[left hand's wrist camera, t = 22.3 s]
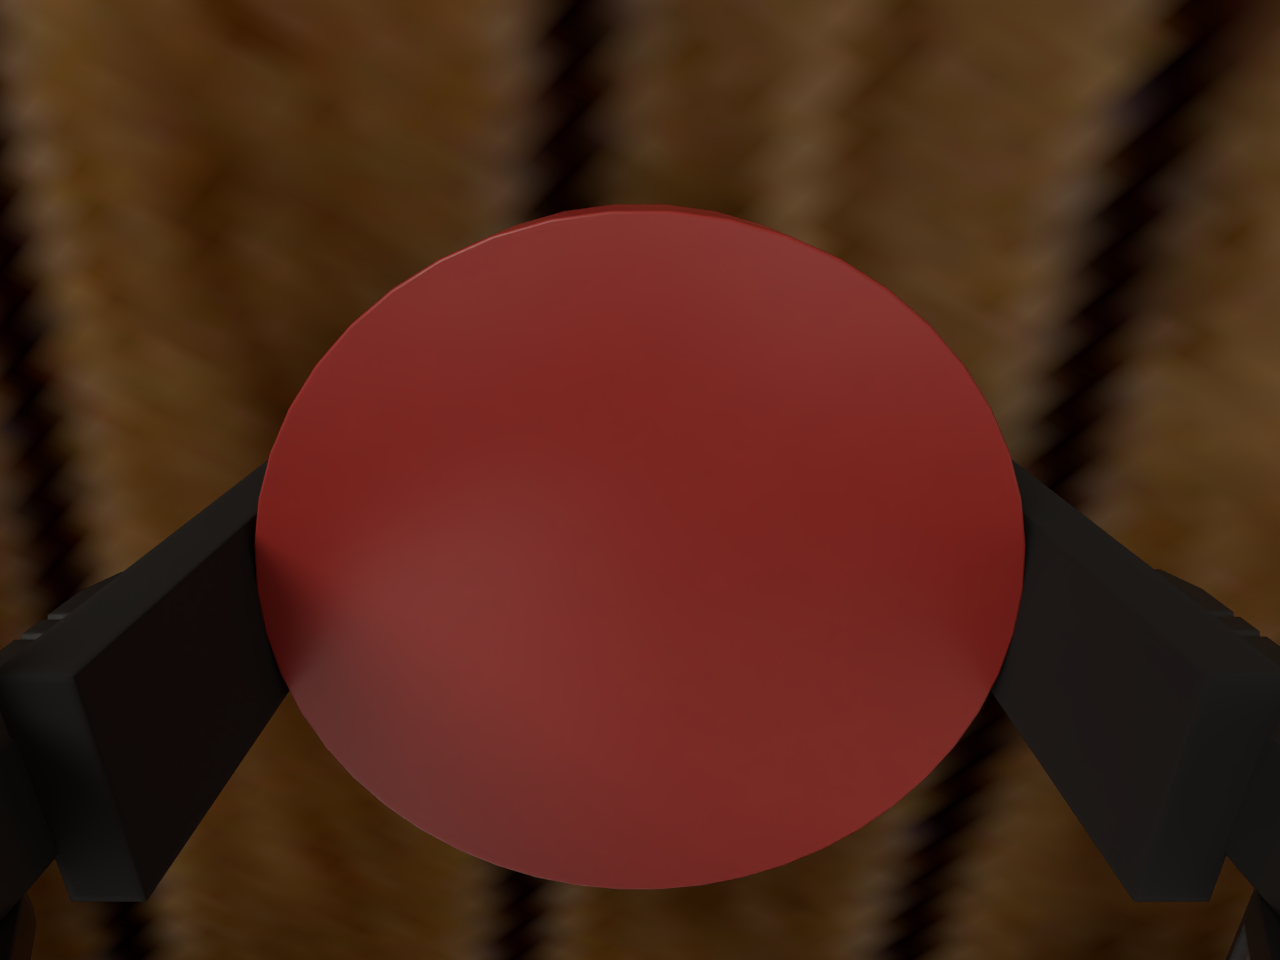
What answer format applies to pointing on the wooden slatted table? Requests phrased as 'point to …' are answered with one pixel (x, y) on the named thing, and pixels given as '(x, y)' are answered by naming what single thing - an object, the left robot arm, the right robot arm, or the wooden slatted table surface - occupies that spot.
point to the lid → (639, 548)
